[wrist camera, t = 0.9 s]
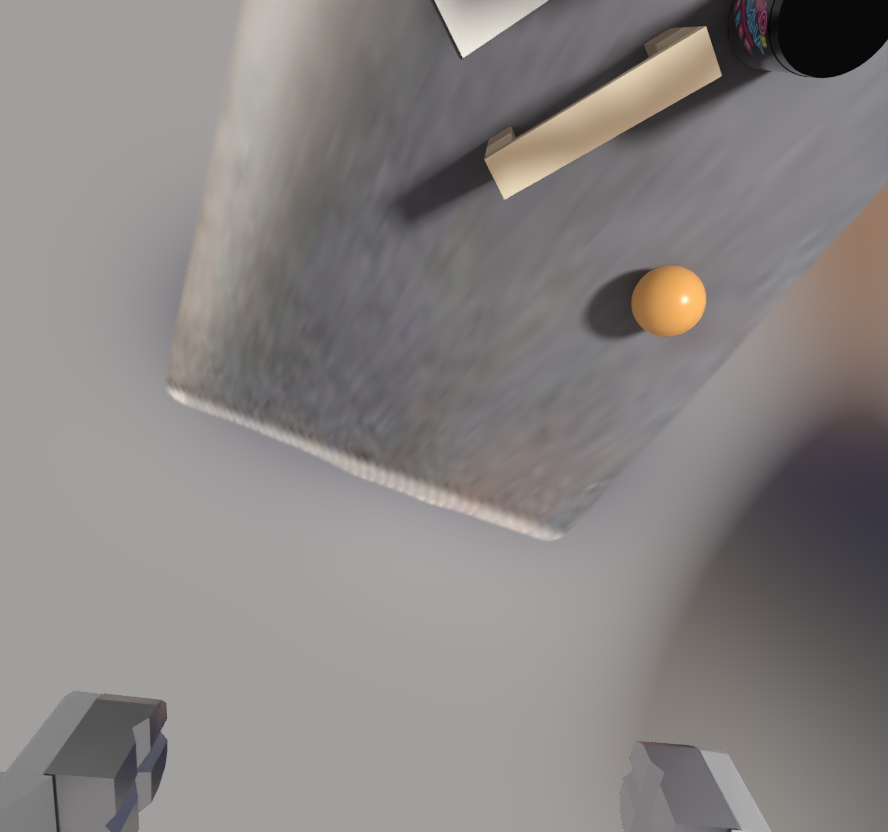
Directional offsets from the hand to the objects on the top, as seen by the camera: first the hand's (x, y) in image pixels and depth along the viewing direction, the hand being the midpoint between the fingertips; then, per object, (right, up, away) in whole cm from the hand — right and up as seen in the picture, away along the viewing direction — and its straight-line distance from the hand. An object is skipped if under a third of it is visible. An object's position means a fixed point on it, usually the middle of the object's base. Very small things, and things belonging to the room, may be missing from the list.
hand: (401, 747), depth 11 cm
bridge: (+12, +30, +37) cm, 49 cm away
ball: (+20, +16, +42) cm, 49 cm away
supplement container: (+24, +34, +33) cm, 54 cm away
